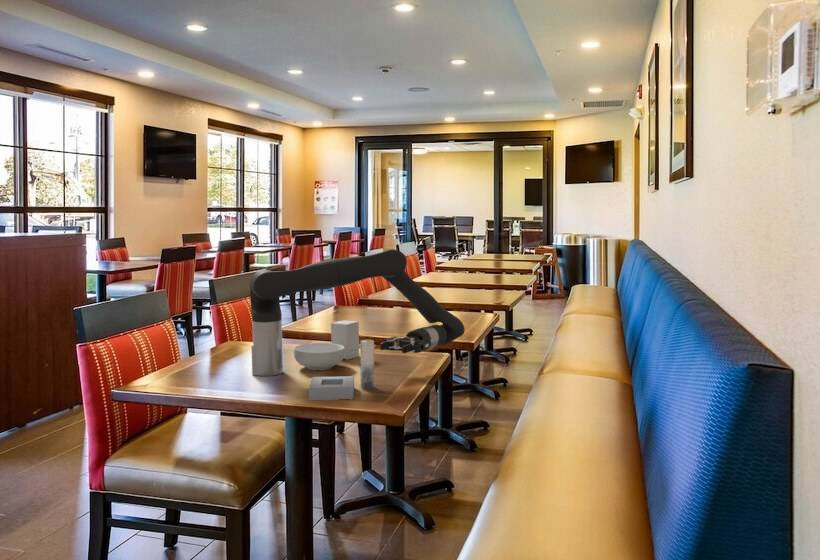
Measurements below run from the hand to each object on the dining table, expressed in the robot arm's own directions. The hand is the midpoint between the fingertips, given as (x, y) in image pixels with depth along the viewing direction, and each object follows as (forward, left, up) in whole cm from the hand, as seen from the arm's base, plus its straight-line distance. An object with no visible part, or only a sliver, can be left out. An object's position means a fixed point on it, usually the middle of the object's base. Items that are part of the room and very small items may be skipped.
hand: (391, 348), depth 200 cm
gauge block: (-17, -15, -10) cm, 25 cm away
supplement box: (-15, +33, -10) cm, 38 cm away
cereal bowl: (-23, +17, -10) cm, 31 cm away
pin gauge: (-7, -9, -10) cm, 15 cm away
